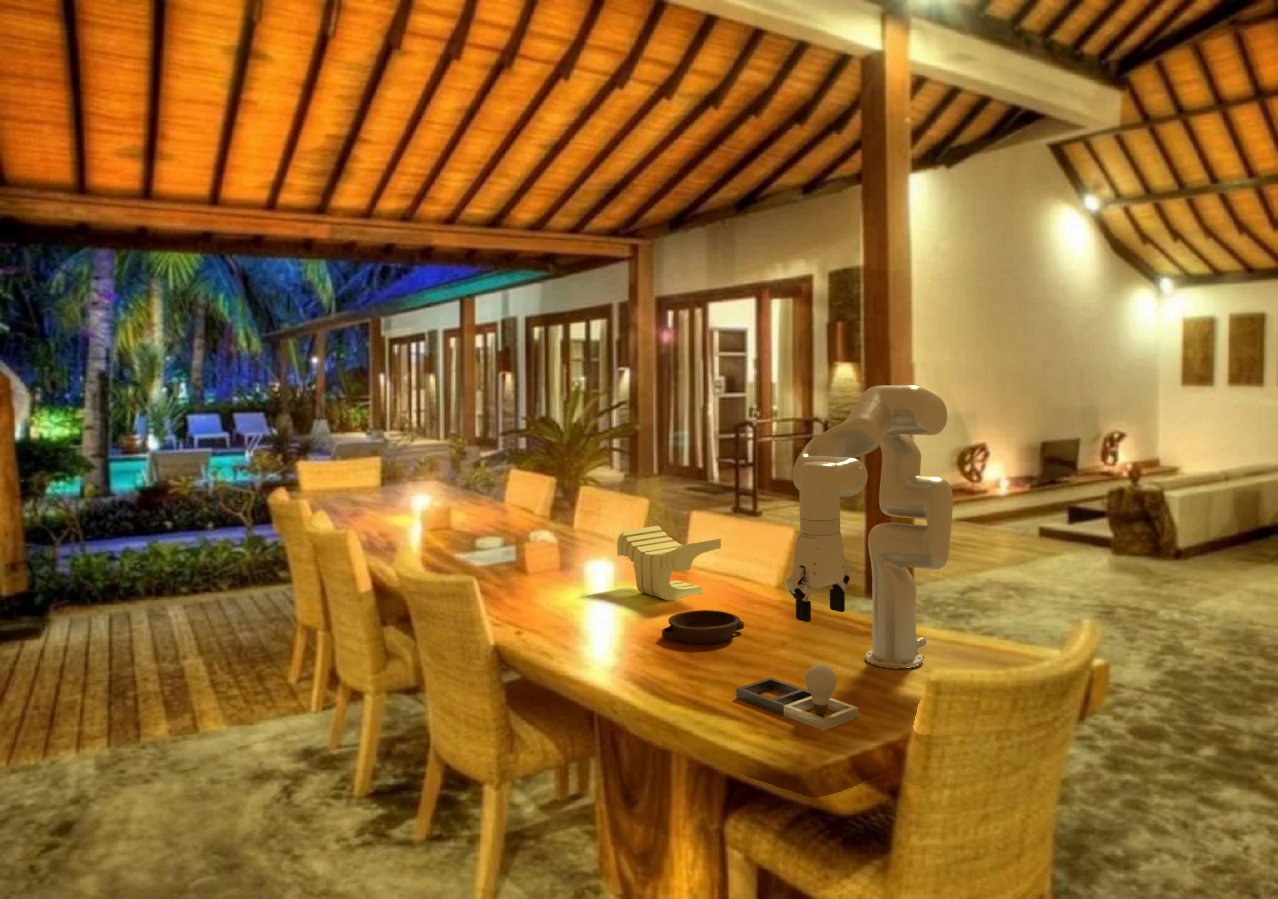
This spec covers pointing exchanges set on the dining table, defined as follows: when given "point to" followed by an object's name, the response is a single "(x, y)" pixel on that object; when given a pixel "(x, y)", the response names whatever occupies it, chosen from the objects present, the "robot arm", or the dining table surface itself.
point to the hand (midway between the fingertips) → (820, 615)
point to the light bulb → (820, 687)
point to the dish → (702, 626)
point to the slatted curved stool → (661, 560)
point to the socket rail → (796, 704)
